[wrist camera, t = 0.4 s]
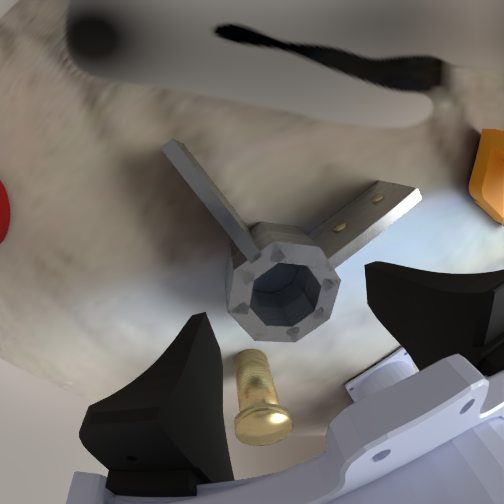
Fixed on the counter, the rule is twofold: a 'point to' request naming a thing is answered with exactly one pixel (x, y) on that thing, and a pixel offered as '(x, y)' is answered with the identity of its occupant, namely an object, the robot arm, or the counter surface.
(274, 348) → the counter surface
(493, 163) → the bracket
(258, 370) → the hinge pin
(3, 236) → the beverage can
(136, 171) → the counter surface
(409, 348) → the robot arm
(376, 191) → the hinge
